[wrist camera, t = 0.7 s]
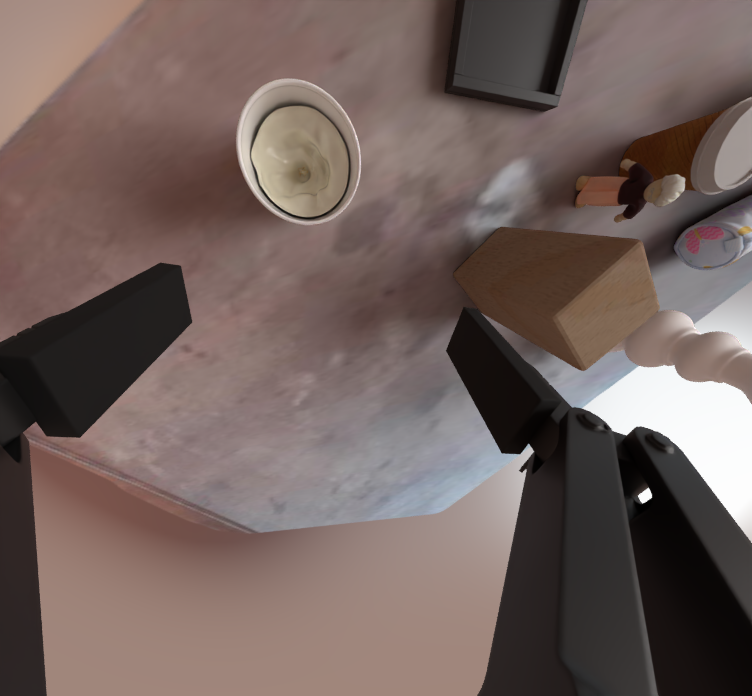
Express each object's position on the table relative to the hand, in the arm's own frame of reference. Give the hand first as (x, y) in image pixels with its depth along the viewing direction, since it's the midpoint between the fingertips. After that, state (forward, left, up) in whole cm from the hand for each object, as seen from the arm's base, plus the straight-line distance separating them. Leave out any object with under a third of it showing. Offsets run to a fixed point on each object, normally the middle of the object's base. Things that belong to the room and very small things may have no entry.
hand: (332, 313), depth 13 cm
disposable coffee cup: (-14, +49, -27) cm, 58 cm away
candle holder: (-8, -1, -27) cm, 28 cm away
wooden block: (+3, +28, -27) cm, 39 cm away
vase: (+11, +54, -27) cm, 61 cm away
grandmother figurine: (-9, +41, -27) cm, 50 cm away
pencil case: (-7, +74, -27) cm, 79 cm away
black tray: (-25, +23, -27) cm, 43 cm away
